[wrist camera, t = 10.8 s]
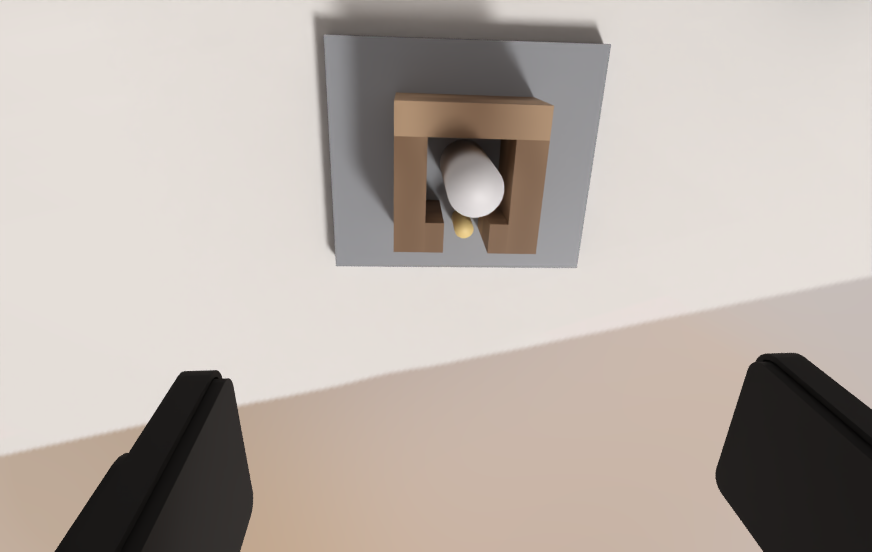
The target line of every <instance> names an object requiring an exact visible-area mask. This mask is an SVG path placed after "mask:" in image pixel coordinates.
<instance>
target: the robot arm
mask: <svg viewBox="0 0 872 552" xmlns="http://www.w3.org/2000/svg"><path fill="white" fill-rule="evenodd" d="M716 482H717V485H718V488H719V490H720V492H721V493H722V495H723V496H724V497H725V499H726V500H727V502H728V503H729V504H730V506H731V507H732V508H733V510H734V511H735V513H736V514H737V515H738V517H739V518H740V520H741V521H742V522H743V524H744V525H745V527H746V528H747V529H748V531H749V532H750V533H751V535H752V536H753V538H754V539H755V541H756V542H757V543H758V545H759V546H760V547H761V549H762V550H763V552H872V409H870V408H869V407H868V406H867V405H865V404H864V403H863V402H861V401H860V400H859V399H858V398H856V397H855V396H854V395H852V394H851V393H850V392H848V391H847V390H846V389H845V388H843V387H842V386H841V385H839V384H838V383H837V382H836V381H834V380H833V379H832V378H831V377H829V376H828V375H827V374H825V373H824V372H823V371H821V370H820V369H819V368H818V367H816V366H815V365H814V364H812V363H811V362H810V361H808V360H807V359H806V358H805V357H803V356H802V355H800V354H796V353H774V354H773V353H772V354H763V355H760V357H758V358H757V360H756V362H754V363H752V364H751V365H750V366H749V368H748V371H747V374H746V377H745V380H744V383H743V386H742V390H741V393H740V396H739V399H738V402H737V405H736V409H735V411H734V415H733V418H732V421H731V424H730V427H729V431H728V434H727V437H726V440H725V443H724V446H723V449H722V453H721V456H720V459H719V462H718V465H717V468H716ZM252 507H253V491H252V485H251V480H250V474H249V469H248V464H247V458H246V453H245V448H244V442H243V436H242V431H241V425H240V420H239V415H238V409H237V403H236V398H235V393H234V387H233V383H232V381H231V379H229V378H227V379H222V376H221V374H220V372H219V371H217V370H210V371H184V372H181V373H180V375H179V376H178V377H177V379H176V380H175V382H174V383H173V385H172V386H171V388H170V389H169V391H168V393H167V394H166V396H165V397H164V399H163V400H162V402H161V403H160V405H159V407H158V408H157V410H156V411H155V413H154V414H153V416H152V417H151V419H150V421H149V422H148V424H147V425H146V427H145V428H144V430H143V431H142V433H141V435H140V436H139V438H138V439H137V441H136V442H135V444H134V445H133V447H132V449H131V450H130V452H129V453H125V454H123V455H121V456H120V457H119V458H118V459H117V460H116V461H115V462H114V464H113V465H112V466H111V468H110V469H109V470H108V472H107V474H106V475H105V477H104V478H103V480H102V481H101V483H100V484H99V486H98V487H97V489H96V490H95V492H94V493H93V495H92V496H91V498H90V499H89V501H88V502H87V504H86V505H85V507H84V508H83V510H82V511H81V513H80V514H79V516H78V517H77V519H76V520H75V522H74V523H73V525H72V526H71V528H70V529H69V531H68V532H67V534H66V535H65V537H64V538H63V540H62V541H61V543H60V544H59V546H58V548H57V549H56V550H55V552H240V550H241V546H242V543H243V540H244V536H245V533H246V530H247V527H248V523H249V520H250V517H251V513H252Z"/></svg>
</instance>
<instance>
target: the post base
mask: <svg viewBox="0 0 872 552" xmlns="http://www.w3.org/2000/svg"><path fill="white" fill-rule="evenodd" d="M610 48H611V44H590V43H560V42H530V41H500V40H471V39H441V38H411V37H381V36H352V35H324V50H325V68H326V87H327V106H328V125H329V144H330V162H331V181H332V200H333V219H334V238H335V256H336V266H384V267H509V268H577V263H578V256H579V250H580V243H581V237H582V230H583V224H584V217H585V211H586V204H587V198H588V191H589V185H590V178H591V172H592V165H593V158H594V152H595V145H596V139H597V132H598V126H599V119H600V113H601V106H602V100H603V93H604V87H605V80H606V74H607V67H608V61H609V54H610ZM396 92H399V93H428V94H457V95H486V96H515V97H535V98H537V99H539V100H542V101H544V102H547V103H549V104H551V105H554V112H553V120H552V128H551V136H550V144H549V152H548V160H547V168H546V176H545V184H544V192H543V200H542V208H541V216H540V224H539V232H538V240H537V249H536V254H492V253H487V251H486V248H485V245H484V243H483V240H482V238H481V235H480V232H479V230H478V217H482V216H485V215H488V214H489V213H491V212H492V211H494V210H495V209H496V208H497V207H498V205H499V204H500V202H501V200H502V198H503V195H504V182H503V179H502V176H501V175H500V173H499V171H498V168H499V157H500V145H501V139H477V138H443V137H428V148H427V182H426V200H440V205H441V210H442V215H443V220H444V238H443V253H428V252H394V98H395V94H396Z"/></svg>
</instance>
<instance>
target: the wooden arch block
mask: <svg viewBox="0 0 872 552" xmlns="http://www.w3.org/2000/svg"><path fill="white" fill-rule="evenodd" d="M553 112H554V105H551V104H549V103H547V102H544V101H542V100H539V99H537V98H535V97H515V96H486V95H457V94H428V93H399V92H396V94H395V98H394V252H428V253H443V238H444V220H443V215H442V210H441V205H440V200H426V182H427V148H428V137H443V138H477V139H501V145H500V157H499V168H498V171H499V173H500V175H501V176H502V179H503V182H504V195H503V198H502V200H501V202H500V204H499V205H498V207H497V208H496V209H495V210H494V211H492V212H491V213H489V214H488V215H485V216H482V217H478V230H479V232H480V235H481V238H482V240H483V243H484V245H485V248H486V251H487V253H492V254H536V249H537V240H538V232H539V224H540V216H541V208H542V200H543V192H544V184H545V176H546V168H547V160H548V152H549V144H550V136H551V128H552V120H553Z"/></svg>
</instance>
